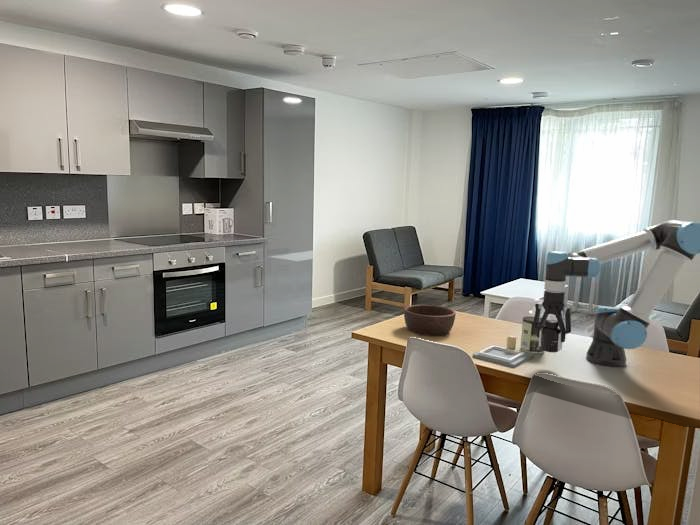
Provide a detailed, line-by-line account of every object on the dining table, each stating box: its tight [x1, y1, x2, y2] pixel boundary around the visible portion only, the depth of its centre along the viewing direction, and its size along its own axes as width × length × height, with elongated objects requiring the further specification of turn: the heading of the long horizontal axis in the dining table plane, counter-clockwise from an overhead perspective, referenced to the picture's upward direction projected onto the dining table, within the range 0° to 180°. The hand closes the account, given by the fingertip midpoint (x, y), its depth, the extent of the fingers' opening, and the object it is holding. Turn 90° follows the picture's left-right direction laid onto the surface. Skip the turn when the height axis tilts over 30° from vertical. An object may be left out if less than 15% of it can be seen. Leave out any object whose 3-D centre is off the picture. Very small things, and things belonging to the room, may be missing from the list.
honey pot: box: [528, 298, 551, 320], centre depth 256 cm, size 13×13×18 cm
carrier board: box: [472, 335, 535, 368], centre depth 222 cm, size 18×20×7 cm
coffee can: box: [519, 315, 546, 355], centre depth 233 cm, size 10×10×14 cm
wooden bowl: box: [403, 304, 457, 337], centre depth 259 cm, size 25×25×10 cm
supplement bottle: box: [541, 319, 561, 353], centre depth 210 cm, size 7×7×12 cm
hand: (550, 347), depth 211 cm, fingers closed on supplement bottle, 7 cm apart
